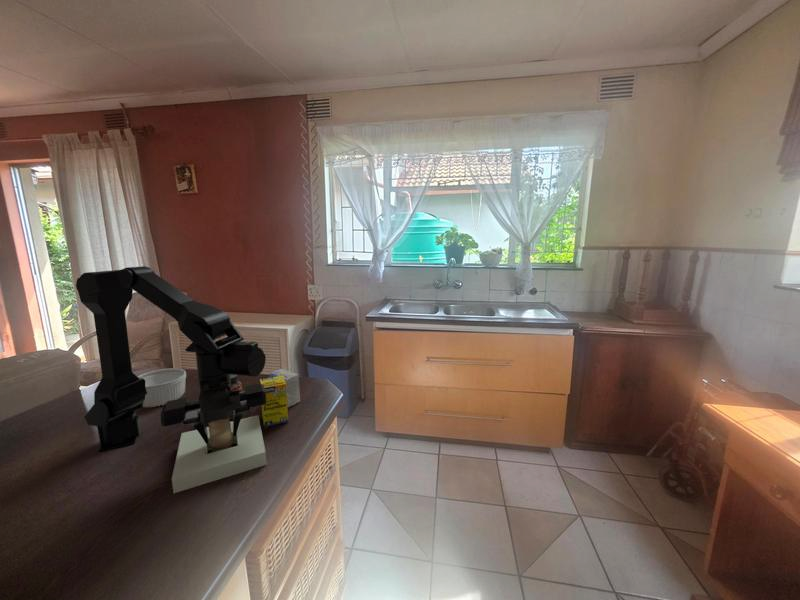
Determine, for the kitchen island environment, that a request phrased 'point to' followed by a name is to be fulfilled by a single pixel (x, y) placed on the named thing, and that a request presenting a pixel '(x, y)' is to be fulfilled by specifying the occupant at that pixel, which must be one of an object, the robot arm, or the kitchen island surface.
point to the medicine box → (289, 385)
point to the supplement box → (274, 401)
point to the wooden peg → (220, 435)
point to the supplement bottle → (235, 388)
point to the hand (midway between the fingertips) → (221, 438)
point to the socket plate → (218, 456)
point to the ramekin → (163, 386)
